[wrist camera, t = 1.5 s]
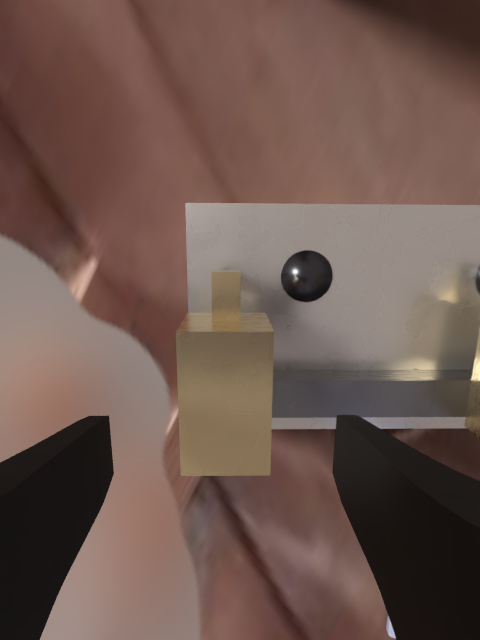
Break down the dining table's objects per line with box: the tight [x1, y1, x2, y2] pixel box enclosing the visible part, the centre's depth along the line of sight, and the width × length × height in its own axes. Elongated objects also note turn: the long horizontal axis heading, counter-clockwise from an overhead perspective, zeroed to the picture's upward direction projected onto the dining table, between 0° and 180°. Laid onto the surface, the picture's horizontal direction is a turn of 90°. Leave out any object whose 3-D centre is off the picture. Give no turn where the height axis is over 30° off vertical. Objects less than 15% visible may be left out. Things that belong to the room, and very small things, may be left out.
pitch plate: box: [186, 203, 480, 438], centre depth 17 cm, size 12×20×7 cm, turn 90°
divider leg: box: [176, 269, 274, 476], centre depth 16 cm, size 8×4×5 cm, turn 0°
